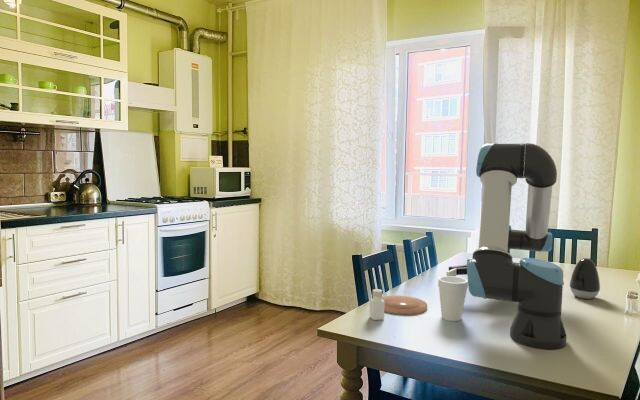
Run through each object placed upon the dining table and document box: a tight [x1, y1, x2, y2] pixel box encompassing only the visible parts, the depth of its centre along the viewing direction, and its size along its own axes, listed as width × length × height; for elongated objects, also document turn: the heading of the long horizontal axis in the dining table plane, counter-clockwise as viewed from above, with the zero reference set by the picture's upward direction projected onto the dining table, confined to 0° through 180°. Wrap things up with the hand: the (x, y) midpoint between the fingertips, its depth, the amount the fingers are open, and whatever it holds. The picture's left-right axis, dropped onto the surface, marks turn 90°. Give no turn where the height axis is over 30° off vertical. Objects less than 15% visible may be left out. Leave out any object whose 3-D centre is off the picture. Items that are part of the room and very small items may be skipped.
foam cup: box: [437, 275, 469, 322], centre depth 155 cm, size 10×9×13 cm
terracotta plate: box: [382, 295, 428, 316], centre depth 166 cm, size 18×18×1 cm
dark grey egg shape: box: [569, 258, 601, 300], centre depth 180 cm, size 10×10×15 cm
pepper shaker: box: [369, 288, 385, 321], centre depth 153 cm, size 4×4×10 cm
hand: (465, 279), depth 162 cm, fingers open, 13 cm apart
